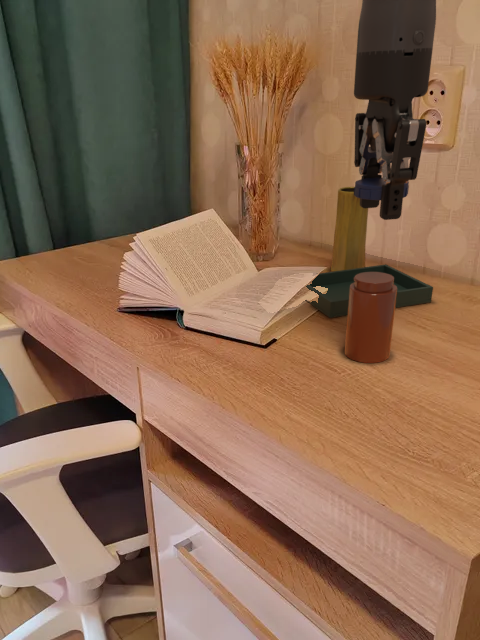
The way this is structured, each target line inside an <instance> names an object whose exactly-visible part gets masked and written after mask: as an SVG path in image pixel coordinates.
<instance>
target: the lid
mask: <svg viewBox="0 0 480 640" xmlns="http://www.w3.org/2000/svg"><path fill="white" fill-rule="evenodd" d="M382 185H384V183H383V177H382V178H367V179H357V180H356V181H355V182H354V186H353V187H354V195H355V197H357V198H361V199H367V200H380V201H381V194H382ZM409 188H410V180H409V181H408V183H405V184H404V193H403V199H404V198H406V197H408V195H409Z"/></svg>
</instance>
